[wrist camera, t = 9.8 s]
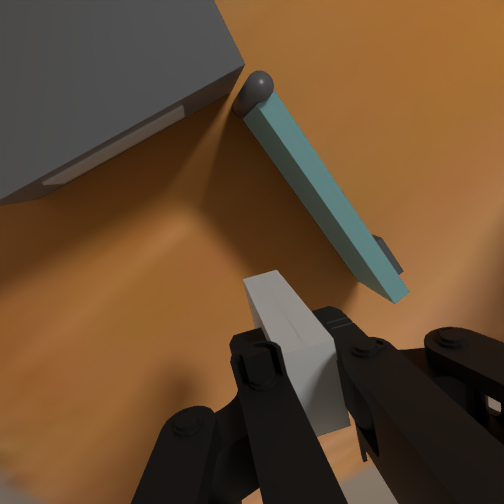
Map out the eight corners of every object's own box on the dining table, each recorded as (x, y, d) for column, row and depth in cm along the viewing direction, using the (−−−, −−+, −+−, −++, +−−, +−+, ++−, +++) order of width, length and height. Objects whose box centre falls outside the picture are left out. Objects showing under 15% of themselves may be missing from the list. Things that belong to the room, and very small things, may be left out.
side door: (353, 279, 24) (396, 307, 19) (228, 104, 21) (240, 82, 16) (376, 261, 24) (425, 284, 19) (254, 83, 21) (275, 54, 16)
